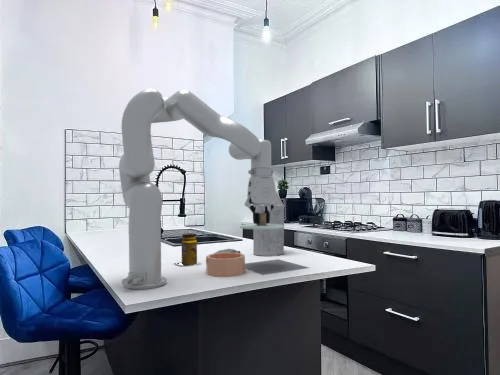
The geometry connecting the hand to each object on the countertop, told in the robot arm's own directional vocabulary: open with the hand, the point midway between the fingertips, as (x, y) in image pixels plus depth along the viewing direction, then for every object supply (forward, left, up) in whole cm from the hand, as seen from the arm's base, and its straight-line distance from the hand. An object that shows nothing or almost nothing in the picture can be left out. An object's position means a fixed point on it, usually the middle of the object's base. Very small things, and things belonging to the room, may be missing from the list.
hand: (261, 222), depth 130 cm
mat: (+3, -3, -17) cm, 17 cm away
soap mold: (+19, +21, -18) cm, 33 cm away
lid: (0, 0, -2) cm, 2 cm away
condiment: (+4, +31, -17) cm, 36 cm away
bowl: (-9, +11, -17) cm, 22 cm away
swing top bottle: (+31, +3, -17) cm, 35 cm away
